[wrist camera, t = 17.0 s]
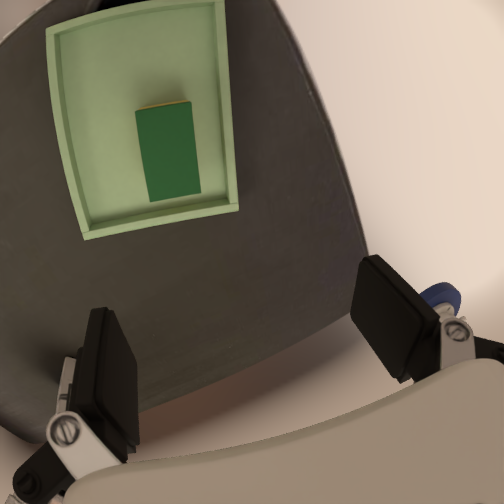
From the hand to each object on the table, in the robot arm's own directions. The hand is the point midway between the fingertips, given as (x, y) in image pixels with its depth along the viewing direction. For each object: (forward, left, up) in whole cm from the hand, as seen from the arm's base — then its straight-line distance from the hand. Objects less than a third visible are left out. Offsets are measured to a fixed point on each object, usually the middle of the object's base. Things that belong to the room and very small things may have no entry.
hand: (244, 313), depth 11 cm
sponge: (+2, -3, -19) cm, 19 cm away
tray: (+4, -6, -19) cm, 20 cm away
